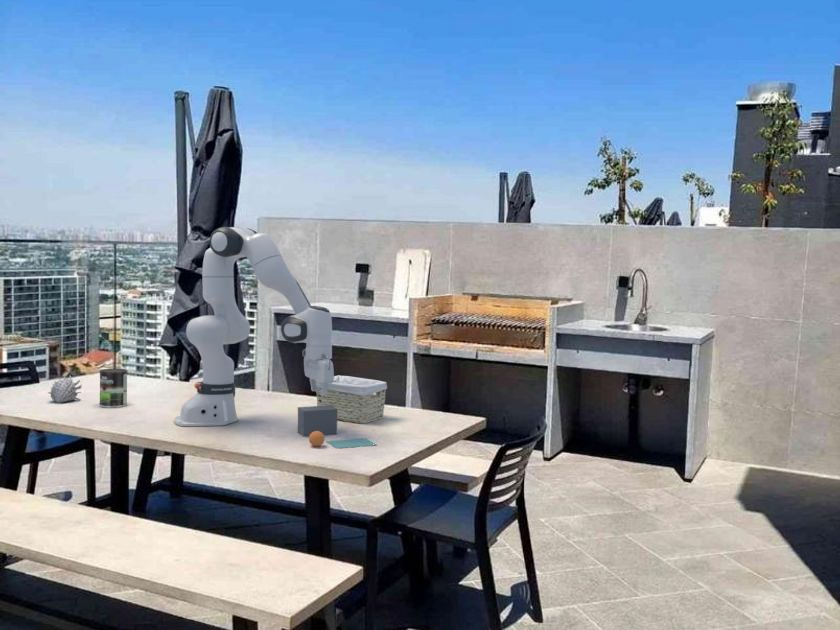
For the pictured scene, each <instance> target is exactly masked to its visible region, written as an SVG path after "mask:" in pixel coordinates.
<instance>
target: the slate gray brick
mask: <svg viewBox="0 0 840 630" xmlns="http://www.w3.org/2000/svg"><path fill="white" fill-rule="evenodd" d="M337 411H338V409H337V408H335V407H333V406H331V405H329V406H316V405H311V406H297V433H298V434H299V435H300V436H302V437H304V436H305V437H309V436H310V434H311V433H312V432H314V431H320V432H322V433H323V435H324V436H328V435H330V436H331V435H337V434H338V419H337Z"/></svg>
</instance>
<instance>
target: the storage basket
mask: <svg viewBox="0 0 840 630" xmlns="http://www.w3.org/2000/svg"><path fill="white" fill-rule="evenodd" d="M316 385H317V391H315V393H316V405H317V406H329V405H331V406H333V407H335V408H337V409H338V411H337V420H339V421H342V422H349V423H350V422H351V423H356V424H362V423H363V425H364V423H365V424H369V423H371V421H372V422H374V421H375V420H376V421H377V420H378V419H379V420H381V419H383V418H384V409H385V402H386V390H387V389H388V385H387V382H386V381H381V380H377V379H372V378H371V379H369V378H364V377H356V376H349V375H339V374H338V375H334V381H333V383H328V389H327V395H321V394H320V393H321V392H320V391H321V388H322V385H321V382H319V381H316Z"/></svg>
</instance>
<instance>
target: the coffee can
mask: <svg viewBox="0 0 840 630" xmlns="http://www.w3.org/2000/svg"><path fill="white" fill-rule="evenodd" d="M127 397H128V369H125V368H103V369H99V407H100V408H105V409H107V408H108V409H111V408H112V409H113V408H114V409H116V408H124V407H126V406H127V405H128V398H127Z"/></svg>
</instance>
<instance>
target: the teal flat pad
mask: <svg viewBox="0 0 840 630" xmlns="http://www.w3.org/2000/svg"><path fill="white" fill-rule="evenodd" d="M326 443H328V444H329V445H330V444H331V445H330V446H332V447H333V448H335V449H336V448H339V449H347V448H348V447H351V448H361V447H360V446H363V447H370V446H369V445H373V444H374V445H375V446H377V445H378V444H376V443H375V442H373V441H372V440H370V439H368V438H366V437H361V438H351V439H350V438H349V439H336V440H327V441H326ZM367 445H368V446H367Z"/></svg>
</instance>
